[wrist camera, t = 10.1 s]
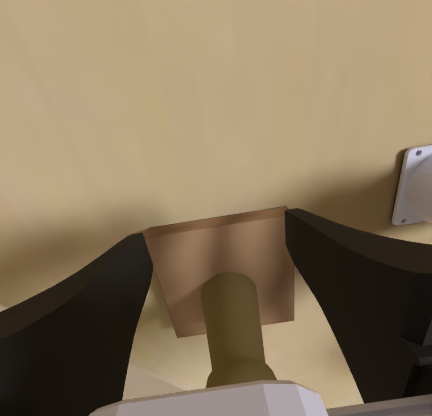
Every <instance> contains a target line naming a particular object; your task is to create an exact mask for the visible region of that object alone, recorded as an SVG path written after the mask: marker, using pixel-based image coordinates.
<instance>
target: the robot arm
mask: <svg viewBox="0 0 432 416" xmlns="http://www.w3.org/2000/svg"><path fill="white" fill-rule="evenodd" d="M417 151H418V153H417V154H416V152H417ZM425 221H428V222H430V223H432V145H426V146H419V147H413V148H409V149H408V150H407V151H406V152H405V155H404V160H403V165H402V171H401V176H400V181H399V186H398V191H397V196H396V201H395V206H394V211H393V217H392V224H394V225H396V226H399V225H406V224H412V223H419V222H425ZM285 243H286V247H287V249H288V252H289V254H290V256H291V258H292V261H293V262H294V264H295V266H296V267H297V269H298V271H299V272H300V274H301V275H302V277H303V279H304V280H305V282H306V283H307V285H308V286H309V288H310V290H311V291H312V293H313V294H314V296H315V298H316V299H317V301H318V303H319V305H320V306H321V308H322V310H323V312H324V314H325V316H326V319H327V321H328V323H329V325H330V327H331V329H332V331H333V333H334V335H335V337H336V340H337V342H338V344H339V346H340V348H341V350H342V353H343V355H344V357H345V359H346V362H347V364H348V366H349V368H350V371H351V373H352V375H353V378H354V380H355V382H356V385H357V387H358V389H359V392H360V394H361V397H362V399H363V402H364V404H359V405H351V406H344V407H337V408H330V409H325V406H324V404H323V402H322V399H321V397H320V395H319V394H318V393H316V392H314V391H313V390H311V389H309V388H306V387H304V386H302V385H299V384H297V383H295V382H293V381H286V380H259V381H252V382H246V383H239V384H232V385H225V386H218V387H211V388H204V389H197V390H190V391H183V392H177V393H170V394H163V395H156V396H150V397H142V398H135V399H128V400H123V401H122V397H123V391H124V385H125V379H126V374H127V369H128V363H129V358H130V353H131V348H132V344H133V339H134V334H135V331H136V327H137V324H138V321H139V318H140V315H141V311H142V308H143V305H144V302H145V299H146V296H147V293H148V290H149V287H150V283H151V278H152V272H153V262H152V259H151V256H150V253H149V250H148V247H147V244H146V241H145V239H144V236H143V233H138V234H132V235H129V236H127V237H126V238H124V239H123V240H121V241H120V242H119V243H117V244H116V245H115V246H113V247H112V248H111V249H109V250H108V251H106V252H105V253H104V254H102V255H101V256H100V257H98V258H97V259H95V260H94V261H92V262H91V263H90V264H88V265H87V266H85V267H84V268H82V269H81V270H79V271H78V272H76V273H75V274H73V275H71V276H70V277H68V278H66V279H65V280H63V281H61V282H60V283H58V284H56V285H54V286H53V287H51V288H49V289H47V290H45V291H43V292H41V293H39V294H37V295H35V296H33V297H31V298H29V299H27V300H26V301H23V302H21V303H19V304H17V305H15V306H13V307H11V308H8V309H6V310H4V311H2V312H0V416H432V245H430V244H423V243H416V242H410V241H404V240H399V239H394V238H388V237H384V236H379V235H375V234H371V233H367V232H364V231H360V230H356V229H353V228H350V227H347V226H344V225H341V224H338V223H335V222H333V221H330V220H327V219H325V218H322V217H319V216H317V215H314V214H312V213H309V212H307V211H304V210H301V209H298V208H296V209H289V210H285Z"/></svg>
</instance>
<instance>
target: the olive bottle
mask: <svg viewBox="0 0 432 416" xmlns="http://www.w3.org/2000/svg"><path fill="white" fill-rule="evenodd" d="M201 299H202V305H203V312H204V319H205V325H206V332H207V338H208V345H209V352H210V358H211V365H212V372H211V373H210V375H209V377H208V380H207V385H206V388H211V387H218V386H225V385H232V384H239V383H246V382H252V381H259V380H277V379H276V377H275V375H274V373H273V371H272V370H271V369H270V367H269V366H268V365H267V364H266V363H265V356H264V348H263V339H262V331H261V322H260V314H259V305H258V297H257V290H256V286H255V284H254V282H253V281H252V280H251V279H250V278H249V277H247V276H246V275H244V274H241V273H237V272H225V273H221V274H217V275H216V276H214V277H212V278H210V279H209V280H208V281H207V282H206V283H205V284H204V286H203V289H202V291H201Z"/></svg>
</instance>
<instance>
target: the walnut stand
mask: <svg viewBox="0 0 432 416" xmlns="http://www.w3.org/2000/svg"><path fill="white" fill-rule="evenodd" d="M285 210H289V209H288V208H287V207H286V206H284V207H278V208H272V209H265V210H259V211H253V212H246V213H240V214H234V215H227V216H221V217H215V218H208V219H202V220H196V221H189V222H183V223H177V224H170V225H164V226H158V227H151V228H149V229H148V231H147V233H146V235H145V238H144V239H145V241H146V244H147V247H148V250H149V253H150V256H151V259H152V262H153V266H154V269H155V272H156V275H157V278H158V281H159V284H160V287H161V290H162V293H163V296H164V299H165V302H166V305H167V308H168V311H169V314H170V317H171V320H172V323H173V326H174V329H175V332H176V335H177V338H180V337H187V336H194V335H200V334H207V332H206V325H205V319H204V312H203V305H202V299H201V291H202V289H203V286H204V284H205V283H206V282H207V281H208V280H209V279H210V278H212V277H214V276H216V275H217V274H221V273H225V272H237V273H241V274H244V275H246V276H247V277H249V278H250V279H251V280H252V281H253V282H254V284H255V286H256V290H257V297H258V305H259V314H260V322H261V325H268V324H274V323H281V322H288V321H294V262H293V261H292V258H291V256H290V254H289V252H288V249H287V247H286V243H285Z"/></svg>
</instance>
